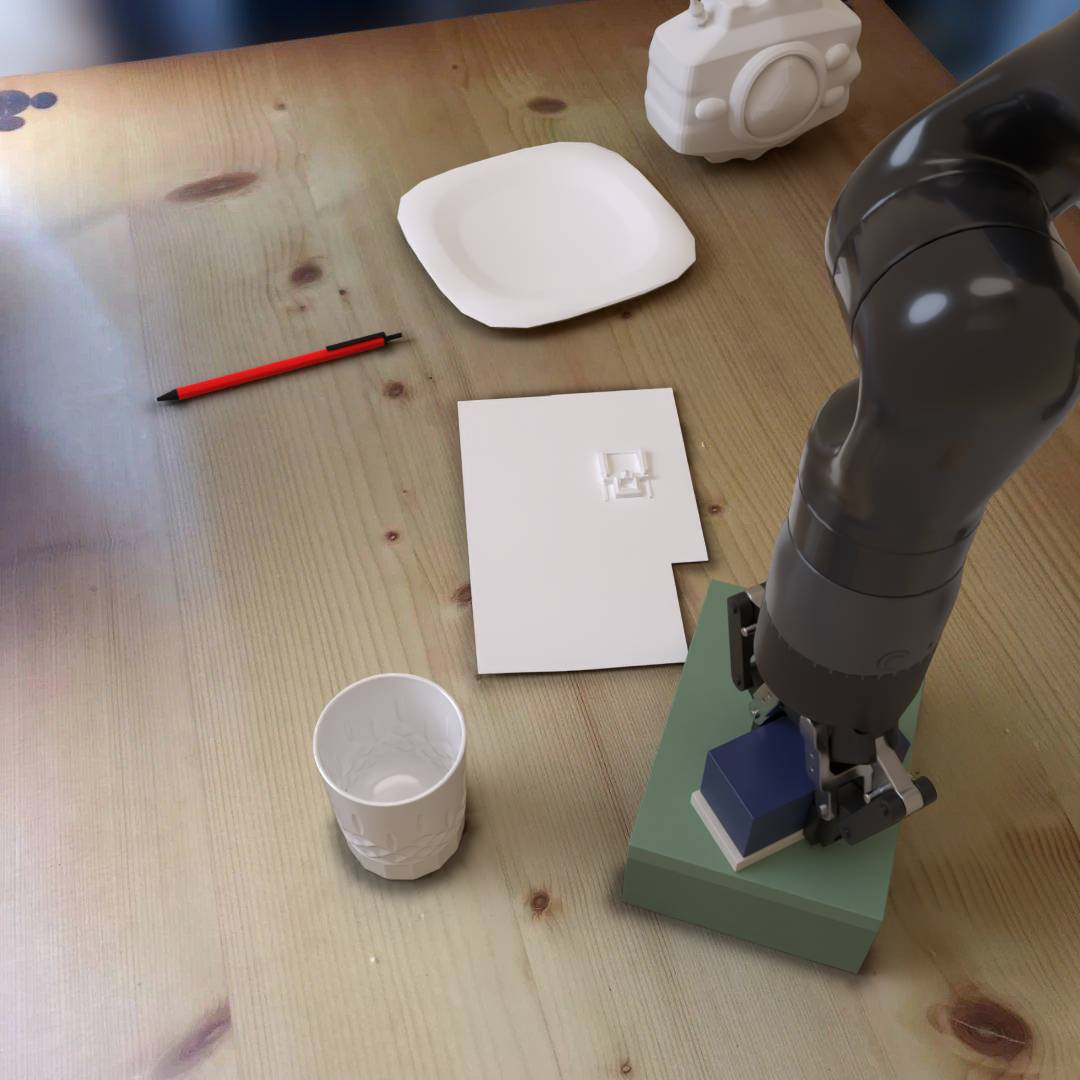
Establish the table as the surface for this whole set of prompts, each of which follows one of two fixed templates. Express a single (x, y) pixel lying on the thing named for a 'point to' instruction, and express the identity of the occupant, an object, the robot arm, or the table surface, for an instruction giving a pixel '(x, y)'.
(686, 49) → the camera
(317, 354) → the pen
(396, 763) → the white cup
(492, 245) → the plate
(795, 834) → the navy block
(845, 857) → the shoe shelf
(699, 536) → the paper
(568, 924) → the table surface
